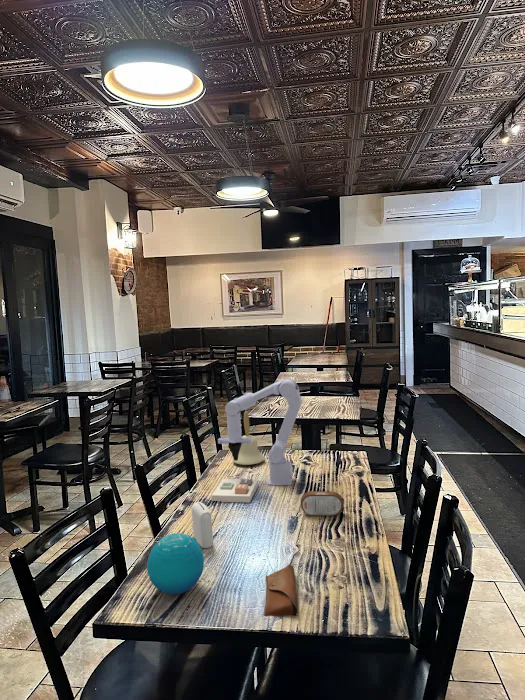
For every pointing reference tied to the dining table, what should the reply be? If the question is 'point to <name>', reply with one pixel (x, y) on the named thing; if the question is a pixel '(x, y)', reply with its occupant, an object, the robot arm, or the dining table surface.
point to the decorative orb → (175, 563)
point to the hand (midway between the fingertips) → (236, 459)
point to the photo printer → (202, 525)
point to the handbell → (249, 447)
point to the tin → (321, 503)
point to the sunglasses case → (281, 593)
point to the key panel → (230, 495)
